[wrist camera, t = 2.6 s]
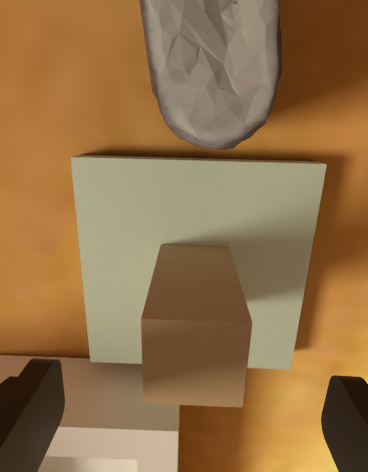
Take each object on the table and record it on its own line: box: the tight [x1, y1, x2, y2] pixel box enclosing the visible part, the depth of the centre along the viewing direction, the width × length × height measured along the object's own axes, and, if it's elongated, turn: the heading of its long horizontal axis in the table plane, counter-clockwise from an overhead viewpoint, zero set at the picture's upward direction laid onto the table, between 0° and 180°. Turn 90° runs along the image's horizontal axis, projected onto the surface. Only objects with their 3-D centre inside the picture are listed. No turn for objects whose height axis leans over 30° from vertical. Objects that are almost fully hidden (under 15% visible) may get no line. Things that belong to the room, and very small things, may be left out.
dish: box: [0, 355, 180, 472], centre depth 18 cm, size 12×12×4 cm
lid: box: [71, 155, 327, 407], centre depth 13 cm, size 11×11×7 cm
